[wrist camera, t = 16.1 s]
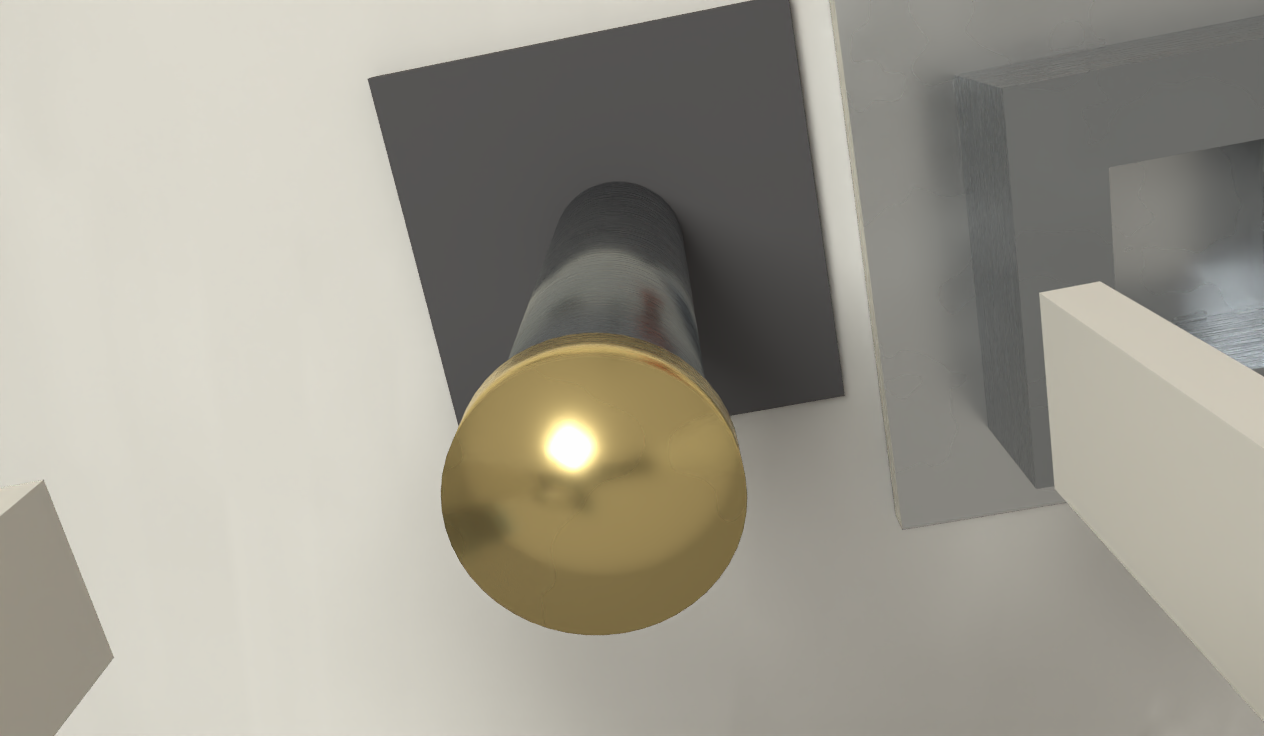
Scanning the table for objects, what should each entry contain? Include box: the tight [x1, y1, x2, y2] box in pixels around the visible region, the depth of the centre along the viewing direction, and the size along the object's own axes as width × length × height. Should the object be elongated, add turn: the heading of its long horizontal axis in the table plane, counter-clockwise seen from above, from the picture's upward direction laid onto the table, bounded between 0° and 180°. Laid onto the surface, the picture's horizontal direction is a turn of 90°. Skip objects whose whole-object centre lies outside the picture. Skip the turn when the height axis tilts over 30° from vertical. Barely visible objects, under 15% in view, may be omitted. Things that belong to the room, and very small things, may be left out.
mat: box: [368, 0, 845, 425], centre depth 28 cm, size 10×10×1 cm
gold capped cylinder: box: [441, 181, 747, 635], centre depth 21 cm, size 4×4×14 cm
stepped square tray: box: [829, 0, 1264, 530], centre depth 26 cm, size 14×14×4 cm
